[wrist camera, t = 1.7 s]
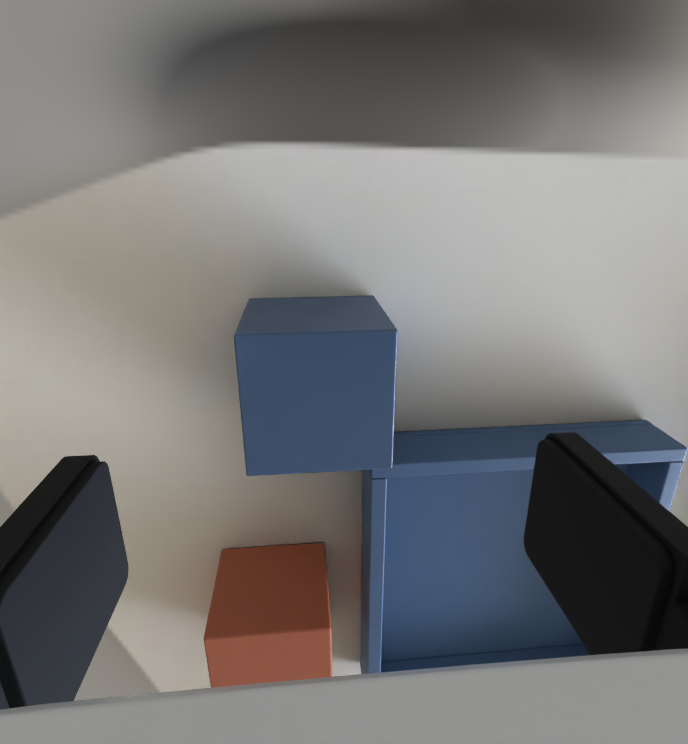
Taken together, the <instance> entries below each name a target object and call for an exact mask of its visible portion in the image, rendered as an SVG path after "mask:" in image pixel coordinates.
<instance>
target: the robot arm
mask: <svg viewBox="0 0 688 744" xmlns="http://www.w3.org/2000/svg"><path fill="white" fill-rule="evenodd" d="M524 548H525V551H526V554H527V556H528V557H529V559H530V561H531V562H532V564H533V565H534V567H535V569H536V570H537V572H538V573H539V575H540V576H541V578H542V580H543V581H544V583H545V584H546V586H547V587H548V589H549V591H550V592H551V594H552V595H553V597H554V598H555V600H556V602H557V603H558V605H559V606H560V608H561V609H562V611H563V613H564V614H565V616H566V617H567V619H568V620H569V622H570V624H571V625H572V627H573V628H574V630H575V632H576V633H577V635H578V636H579V638H580V639H581V641H582V643H583V644H584V646H585V647H586V649H587V650H588V652H589V654H590V655H587V656H574V657H562V658H550V659H537V660H525V661H512V662H500V663H488V664H475V665H463V666H451V667H440V668H428V669H416V670H405V671H393V672H381V673H370V674H359V675H347V676H336V677H325V678H313V679H302V680H291V681H279V682H268V683H258V684H247V685H236V686H225V687H215V688H204V689H193V690H183V691H172V692H161V693H150V694H141V695H129V696H118V697H108V698H99V699H89V700H79V701H74V698H75V696H76V694H77V692H78V689H79V687H80V685H81V683H82V681H83V678H84V676H85V674H86V672H87V669H88V667H89V665H90V662H91V661H92V658H93V656H94V654H95V652H96V649H97V647H98V645H99V643H100V640H101V638H102V636H103V634H104V631H105V629H106V627H107V625H108V622H109V620H110V618H111V616H112V613H113V611H114V609H115V607H116V605H117V602H118V600H119V598H120V596H121V593H122V591H123V589H124V587H125V584H126V582H127V578H128V561H127V556H126V551H125V546H124V541H123V536H122V531H121V526H120V521H119V516H118V511H117V506H116V501H115V497H114V492H113V487H112V482H111V477H110V472H109V467H108V465H107V463H106V462H100V461H99V459H98V457H97V456H95V455H88V456H68V457H64V458H63V459H61V460H60V462H59V463H58V464H57V465H56V466H55V467H54V468H53V469H52V470H51V472H50V473H49V474H48V475H47V476H46V477H45V478H44V479H43V480H42V482H41V483H40V484H39V485H38V486H37V487H36V488H35V489H34V490H33V492H32V493H31V494H30V495H29V496H28V497H27V498H26V499H25V500H24V502H23V503H22V504H21V505H20V506H19V507H18V508H17V509H16V510H15V512H14V513H13V514H12V515H11V516H10V517H9V518H8V519H7V521H6V522H5V523H4V524H3V525H2V526H1V527H0V744H688V527H687V526H686V525H685V524H683V523H682V522H681V521H680V520H679V519H678V518H676V517H675V516H674V515H673V514H672V513H671V512H669V511H668V510H667V509H666V508H665V507H663V506H662V505H661V504H660V503H659V502H658V501H656V500H655V499H654V498H653V497H652V496H651V495H649V494H648V493H647V492H646V491H645V490H644V489H642V488H641V487H640V486H639V485H638V484H636V483H635V482H634V481H633V480H632V479H631V478H629V477H628V476H627V475H626V474H625V473H624V472H622V471H621V470H620V469H619V468H618V467H617V466H615V465H614V464H613V463H612V462H611V461H609V460H608V459H607V458H606V457H605V456H604V455H602V454H601V453H600V452H599V451H598V450H597V449H595V448H594V447H593V446H592V445H591V444H590V443H588V442H587V441H586V440H585V439H584V438H582V437H581V436H580V435H579V434H577V433H576V432H566V433H549V434H548V435H546V437H545V439H544V440H541V441H539V443H538V446H537V452H536V459H535V465H534V472H533V479H532V485H531V492H530V499H529V505H528V512H527V519H526V525H525V532H524Z"/></svg>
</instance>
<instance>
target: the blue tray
mask: <svg viewBox="0 0 688 744" xmlns="http://www.w3.org/2000/svg"><path fill="white" fill-rule="evenodd" d="M566 432H576V433H577V434H579V435H580V436H581V437H582V438H584V439H585V440H586V441H587V442H588V443H590V444H591V445H592V446H593V447H594V448H595V449H597V450H598V451H599V452H600V453H601V454H602V455H604V456H605V457H606V458H607V459H608V460H609V461H611V462H612V463H613V464H614V465H615V466H617V467H618V468H619V469H620V470H621V471H622V472H624V473H625V474H626V475H627V476H628V477H629V478H631V479H632V480H633V481H634V482H635V483H636V484H638V485H639V486H640V487H641V488H642V489H644V490H645V491H646V492H647V493H648V494H649V495H651V496H652V497H653V498H654V499H655V500H656V501H658V502H659V503H660V504H661V505H662V506H663V507H665V508H666V509H667V510H668V511H669V510H670V507H671V503H672V500H673V496H674V493H675V490H676V486H677V483H678V479H679V476H680V472H681V469H682V466H683V460H684V458H685V455H686V451H687V447H685V446H684V445H682V444H681V443H679V442H678V441H676V440H675V439H673V438H672V437H670V436H669V435H667V434H666V433H664V432H663V431H661V430H660V429H658V428H657V427H655V426H654V425H652V424H651V423H650V422H648V421H647V420H631V421H611V422H590V423H570V424H549V425H528V426H508V427H487V428H467V429H446V430H425V431H405V432H394V440H393V466H392V468H386V469H368V470H363V476H362V566H361V656H360V665H361V672H362V674H370V673H381V672H393V671H405V670H416V669H428V668H440V667H451V666H463V665H475V664H488V663H500V662H512V661H525V660H537V659H550V658H562V657H574V656H587V655H590V654H589V652H588V650H587V649H586V647H585V646H584V644H583V643H582V641H581V639H580V638H579V636H578V635H577V633H576V632H575V630H574V628H573V627H572V625H571V624H570V622H569V620H568V619H567V617H566V616H565V614H564V613H563V611H562V609H561V608H560V606H559V605H558V603H557V602H556V600H555V598H554V597H553V595H552V594H551V592H550V591H549V589H548V587H547V586H546V584H545V583H544V581H543V580H542V578H541V576H540V575H539V573H538V572H537V570H536V569H535V567H534V565H533V564H532V562H531V561H530V559H529V557H528V556H527V554H526V551H525V548H524V532H525V525H526V519H527V512H528V505H529V499H530V492H531V485H532V479H533V472H534V465H535V459H536V452H537V446H538V443H539V441H541V440H544V439H545V437H546V435H548V434H549V433H566Z"/></svg>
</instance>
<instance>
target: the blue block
mask: <svg viewBox="0 0 688 744" xmlns="http://www.w3.org/2000/svg"><path fill="white" fill-rule="evenodd" d="M397 333H398V331H397V329H396V328H395V326H394V325H393V323H392V322H391V320H390V319H389V318H388V316H387V315H386V313H385V312H384V310H383V309H382V307H381V306H380V305H379V303H378V302H377V300H376V299H375V297H374V296H334V297H293V298H252V299H249V301H248V303H247V306H246V308H245V310H244V313H243V315H242V318H241V320H240V322H239V325H238V327H237V330H236V332H235V334H234V344H235V355H236V366H237V377H238V388H239V399H240V409H241V420H242V431H243V442H244V453H245V464H246V474H247V476H259V475H277V474H295V473H314V472H332V471H350V470H368V469H386V468H392V466H393V440H394V413H395V387H396V360H397Z"/></svg>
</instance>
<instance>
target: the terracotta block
mask: <svg viewBox="0 0 688 744" xmlns="http://www.w3.org/2000/svg"><path fill="white" fill-rule="evenodd" d="M204 644H205V651H206V657H207V664H208V670H209V677H210V684H211V688H215V687H225V686H236V685H247V684H258V683H268V682H279V681H291V680H302V679H313V678H325V677H332V630H331V616H330V603H329V590H328V578H327V565H326V552H325V544H324V543H309V544H294V545H279V546H265V547H250V548H235V549H223V550H222V552H221V557H220V561H219V566H218V571H217V576H216V581H215V586H214V591H213V596H212V600H211V605H210V610H209V615H208V620H207V625H206V630H205V635H204Z"/></svg>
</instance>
